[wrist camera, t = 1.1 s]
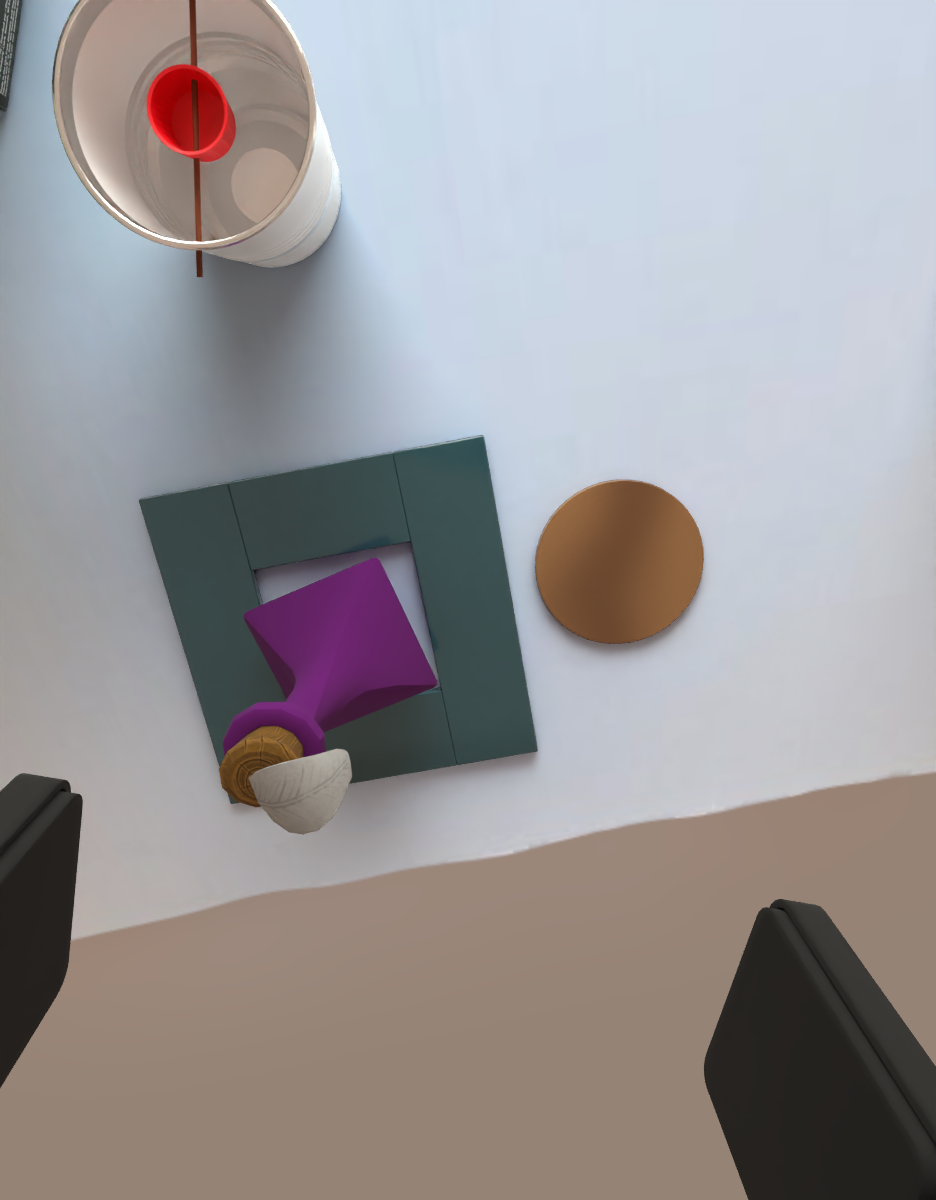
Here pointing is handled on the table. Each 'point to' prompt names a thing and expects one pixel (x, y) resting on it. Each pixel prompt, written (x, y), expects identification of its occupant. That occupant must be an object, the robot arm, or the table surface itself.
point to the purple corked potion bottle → (320, 692)
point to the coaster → (619, 561)
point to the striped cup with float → (198, 126)
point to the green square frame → (343, 525)
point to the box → (7, 45)
